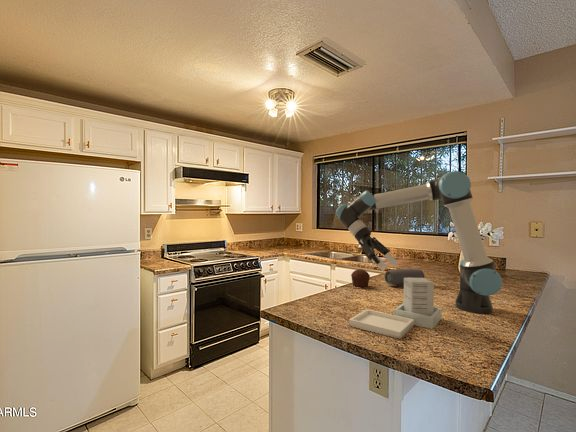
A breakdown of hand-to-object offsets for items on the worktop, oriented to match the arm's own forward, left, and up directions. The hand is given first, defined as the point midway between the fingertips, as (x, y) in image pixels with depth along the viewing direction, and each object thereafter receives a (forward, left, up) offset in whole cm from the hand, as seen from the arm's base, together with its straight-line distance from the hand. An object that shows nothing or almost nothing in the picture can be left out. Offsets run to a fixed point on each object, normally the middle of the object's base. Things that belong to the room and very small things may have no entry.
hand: (390, 267), depth 136 cm
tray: (-3, +17, -21) cm, 27 cm away
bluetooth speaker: (+12, -58, -21) cm, 62 cm away
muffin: (+32, -38, -21) cm, 54 cm away
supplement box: (-12, 0, -21) cm, 24 cm away
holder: (-12, 0, -21) cm, 24 cm away
